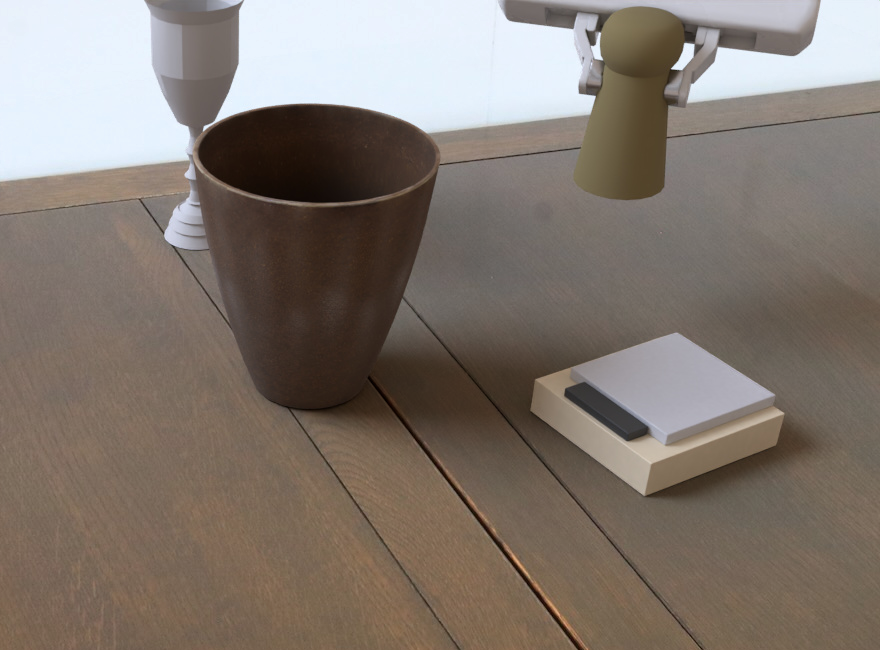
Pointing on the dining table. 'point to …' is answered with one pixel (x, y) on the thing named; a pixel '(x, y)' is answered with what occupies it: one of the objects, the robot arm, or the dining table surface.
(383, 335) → the flower pot
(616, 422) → the scale
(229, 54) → the chalice
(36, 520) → the dining table surface
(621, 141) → the olive pawn
